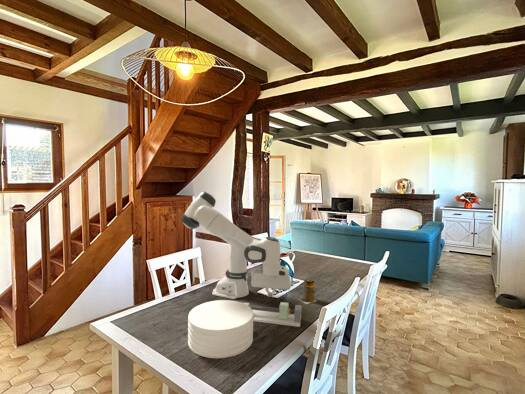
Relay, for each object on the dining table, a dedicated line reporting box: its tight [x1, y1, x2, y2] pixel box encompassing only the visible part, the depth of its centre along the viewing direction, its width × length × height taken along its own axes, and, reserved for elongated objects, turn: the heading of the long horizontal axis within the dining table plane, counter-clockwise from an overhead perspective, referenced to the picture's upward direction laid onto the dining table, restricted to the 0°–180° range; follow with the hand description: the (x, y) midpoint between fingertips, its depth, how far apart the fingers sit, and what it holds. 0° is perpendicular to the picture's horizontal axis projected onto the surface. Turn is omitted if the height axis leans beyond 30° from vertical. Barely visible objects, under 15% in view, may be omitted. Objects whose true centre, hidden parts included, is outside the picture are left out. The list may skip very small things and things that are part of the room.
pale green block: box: [278, 301, 290, 319], centre depth 142 cm, size 4×4×6 cm
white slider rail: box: [243, 302, 302, 328], centre depth 143 cm, size 30×10×7 cm, turn 78°
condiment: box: [298, 278, 318, 305], centre depth 166 cm, size 7×8×12 cm
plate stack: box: [187, 299, 254, 359], centre depth 124 cm, size 28×28×12 cm
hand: (270, 296), depth 143 cm, fingers closed
